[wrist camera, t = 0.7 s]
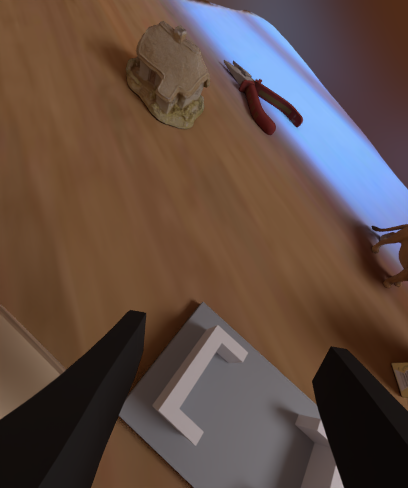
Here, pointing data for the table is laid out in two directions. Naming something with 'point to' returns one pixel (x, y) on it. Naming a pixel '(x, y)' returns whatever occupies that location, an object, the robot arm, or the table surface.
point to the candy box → (401, 377)
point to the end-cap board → (228, 414)
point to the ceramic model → (169, 75)
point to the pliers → (258, 89)
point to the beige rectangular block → (22, 364)
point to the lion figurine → (404, 236)
